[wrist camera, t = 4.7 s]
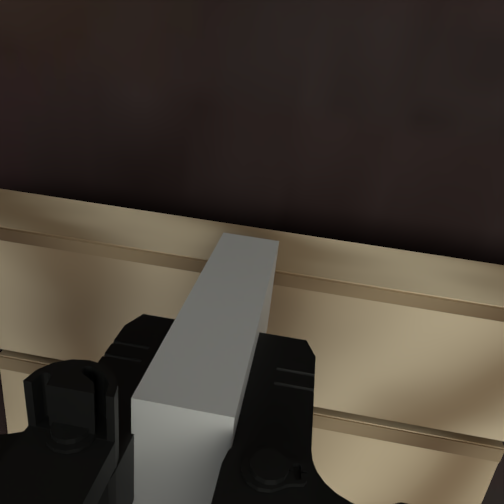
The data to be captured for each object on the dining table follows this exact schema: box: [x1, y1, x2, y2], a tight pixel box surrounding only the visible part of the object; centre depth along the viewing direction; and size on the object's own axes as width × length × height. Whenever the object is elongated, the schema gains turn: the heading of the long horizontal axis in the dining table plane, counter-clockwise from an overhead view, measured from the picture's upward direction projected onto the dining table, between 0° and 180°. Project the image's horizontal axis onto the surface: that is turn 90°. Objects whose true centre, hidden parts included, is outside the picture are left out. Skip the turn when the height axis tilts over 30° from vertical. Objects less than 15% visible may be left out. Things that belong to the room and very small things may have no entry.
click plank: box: [0, 189, 504, 441], centre depth 16 cm, size 20×8×2 cm, turn 84°
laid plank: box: [0, 350, 504, 504], centre depth 21 cm, size 20×8×2 cm, turn 84°
